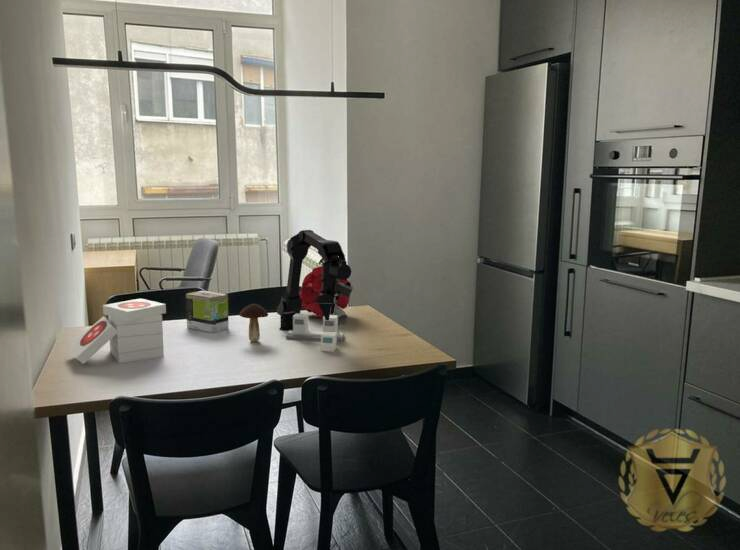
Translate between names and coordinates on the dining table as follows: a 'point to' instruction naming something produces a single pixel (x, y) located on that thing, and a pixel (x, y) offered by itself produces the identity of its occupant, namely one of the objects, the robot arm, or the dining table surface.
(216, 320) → the tea box
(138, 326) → the pizza boxes
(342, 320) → the bouquet
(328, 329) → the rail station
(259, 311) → the decorative mushroom
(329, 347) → the block
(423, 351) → the dining table surface
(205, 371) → the dining table surface
